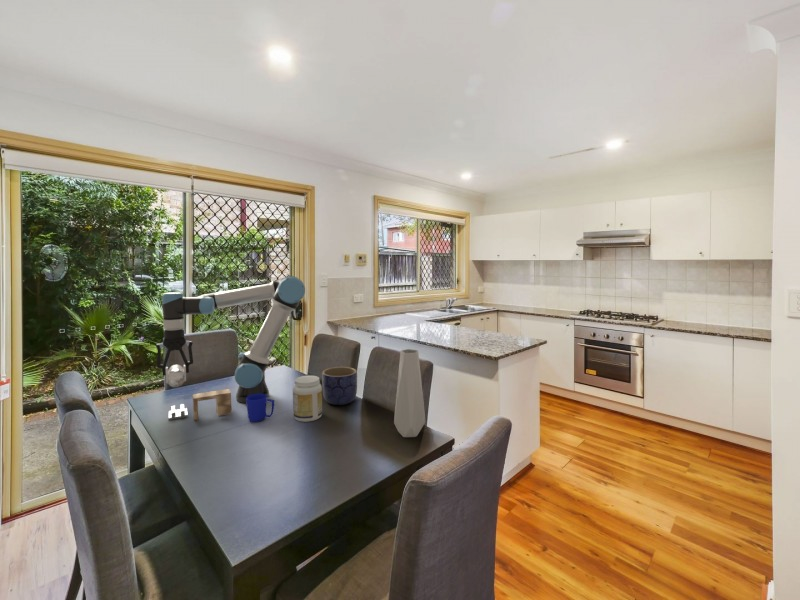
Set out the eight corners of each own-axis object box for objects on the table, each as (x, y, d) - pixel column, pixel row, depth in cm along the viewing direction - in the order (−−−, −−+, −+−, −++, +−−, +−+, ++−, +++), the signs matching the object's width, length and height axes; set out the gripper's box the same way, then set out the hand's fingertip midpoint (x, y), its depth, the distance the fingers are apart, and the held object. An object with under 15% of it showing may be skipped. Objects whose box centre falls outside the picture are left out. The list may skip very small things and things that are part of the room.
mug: (269, 425, 154) (268, 401, 153) (242, 422, 156) (241, 399, 155) (279, 417, 162) (278, 394, 161) (254, 415, 164) (253, 392, 163)
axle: (183, 377, 170) (183, 364, 170) (184, 386, 158) (184, 372, 157) (168, 378, 167) (168, 365, 167) (167, 388, 155) (167, 373, 154)
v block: (186, 410, 169) (186, 403, 169) (187, 416, 162) (187, 410, 161) (168, 413, 166) (168, 406, 165) (168, 420, 158) (168, 413, 158)
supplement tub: (312, 409, 171) (312, 372, 169) (327, 417, 162) (327, 378, 161) (288, 416, 162) (287, 378, 161) (302, 425, 154) (301, 385, 152)
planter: (364, 399, 183) (364, 369, 182) (341, 410, 169) (341, 378, 168) (338, 393, 192) (338, 364, 191) (315, 403, 178) (314, 372, 177)
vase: (388, 429, 150) (388, 349, 147) (414, 425, 154) (415, 346, 151) (400, 443, 139) (400, 356, 136) (428, 437, 143) (429, 353, 140)
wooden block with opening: (229, 408, 171) (229, 388, 170) (231, 413, 166) (230, 392, 165) (193, 415, 163) (192, 394, 162) (194, 420, 158) (193, 398, 157)
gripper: (198, 325, 168) (200, 376, 171) (147, 329, 159) (150, 382, 161) (199, 328, 162) (201, 380, 164) (146, 331, 152) (149, 387, 154)
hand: (176, 381), depth 162 cm, fingers closed on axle, 6 cm apart
